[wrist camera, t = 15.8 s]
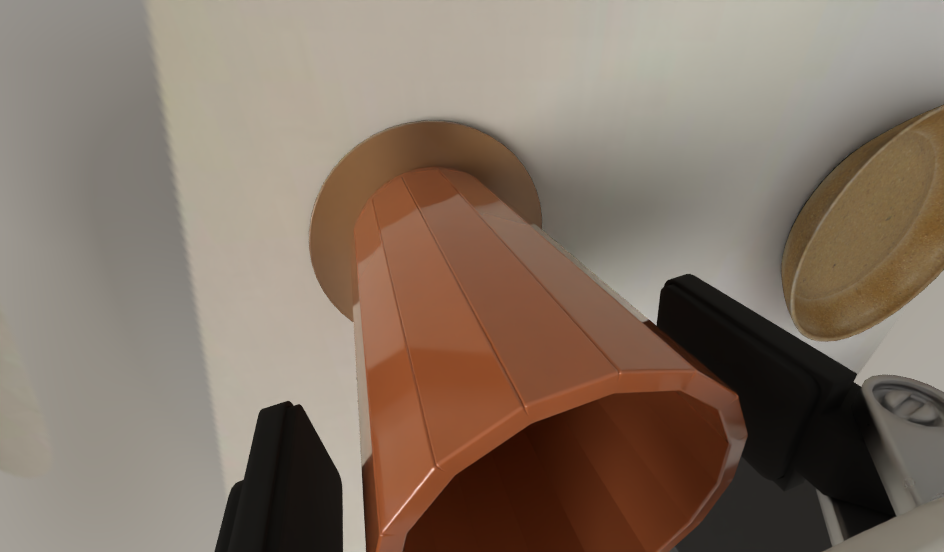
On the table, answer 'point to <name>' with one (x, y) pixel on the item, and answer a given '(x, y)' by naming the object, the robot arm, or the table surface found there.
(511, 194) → the coaster
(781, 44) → the table surface
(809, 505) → the black box with legs
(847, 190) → the plant saucer
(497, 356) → the orange tube
